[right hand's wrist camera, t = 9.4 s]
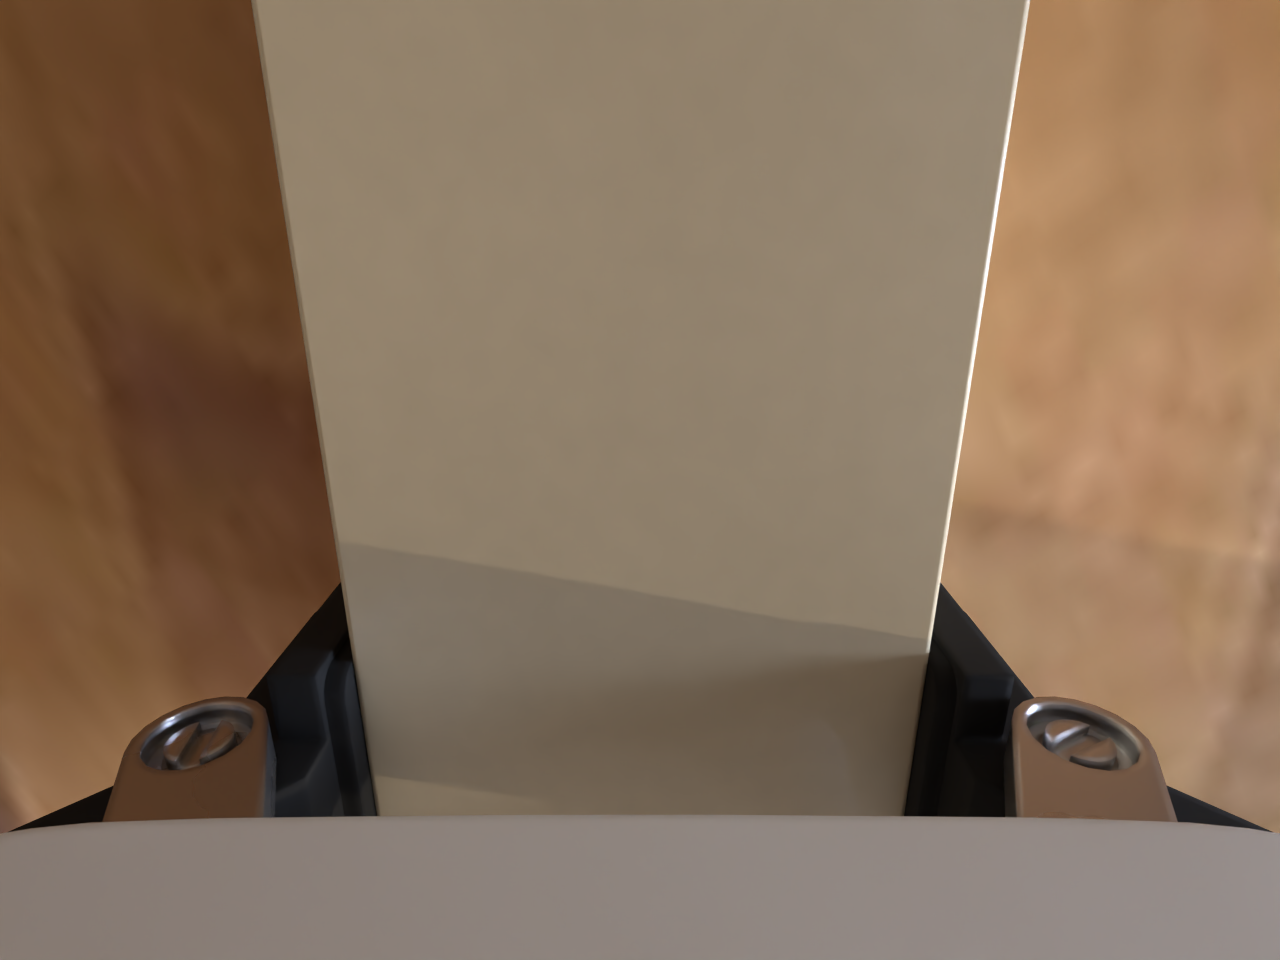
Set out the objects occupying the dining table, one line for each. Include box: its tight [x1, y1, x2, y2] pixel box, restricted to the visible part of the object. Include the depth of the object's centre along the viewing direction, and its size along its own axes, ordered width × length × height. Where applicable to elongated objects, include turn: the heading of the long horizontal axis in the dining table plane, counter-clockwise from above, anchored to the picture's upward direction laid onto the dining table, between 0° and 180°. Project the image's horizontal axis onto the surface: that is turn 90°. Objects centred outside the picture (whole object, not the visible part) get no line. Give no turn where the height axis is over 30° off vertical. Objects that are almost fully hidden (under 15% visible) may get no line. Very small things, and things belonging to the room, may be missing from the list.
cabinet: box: [251, 0, 1030, 816], centre depth 10 cm, size 21×6×8 cm, turn 0°
